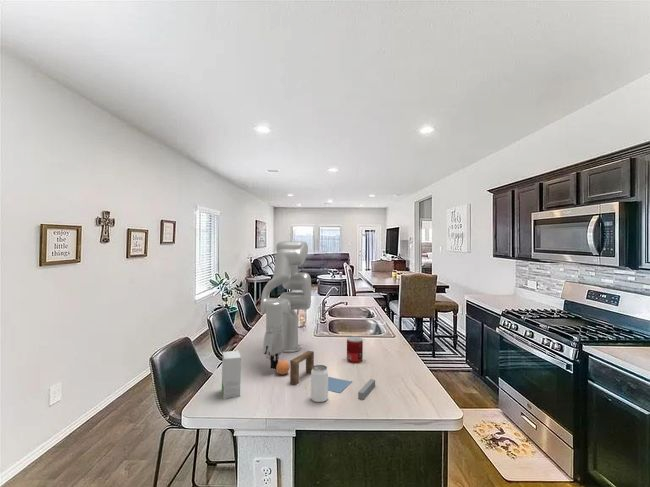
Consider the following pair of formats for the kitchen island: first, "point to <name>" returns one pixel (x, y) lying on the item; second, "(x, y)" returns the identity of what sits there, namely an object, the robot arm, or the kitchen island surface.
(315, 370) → the can
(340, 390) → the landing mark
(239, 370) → the skincare box
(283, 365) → the ball
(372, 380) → the stopper
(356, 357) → the canned food
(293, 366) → the bridge
